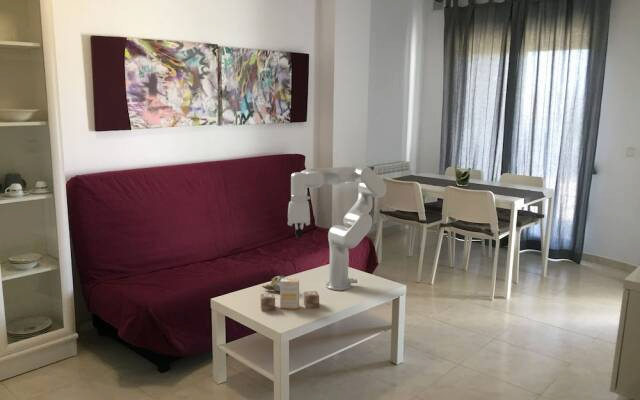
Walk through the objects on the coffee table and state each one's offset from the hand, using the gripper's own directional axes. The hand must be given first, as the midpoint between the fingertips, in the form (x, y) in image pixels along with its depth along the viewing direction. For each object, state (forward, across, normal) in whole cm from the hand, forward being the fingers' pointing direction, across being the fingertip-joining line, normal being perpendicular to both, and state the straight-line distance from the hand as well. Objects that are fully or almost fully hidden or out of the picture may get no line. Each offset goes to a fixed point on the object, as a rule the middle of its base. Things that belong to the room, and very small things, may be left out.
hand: (298, 237), depth 257 cm
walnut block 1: (+29, +16, +14) cm, 36 cm away
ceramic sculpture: (+30, +8, -8) cm, 32 cm away
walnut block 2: (+29, -4, +14) cm, 33 cm away
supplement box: (+29, +6, +14) cm, 33 cm away
